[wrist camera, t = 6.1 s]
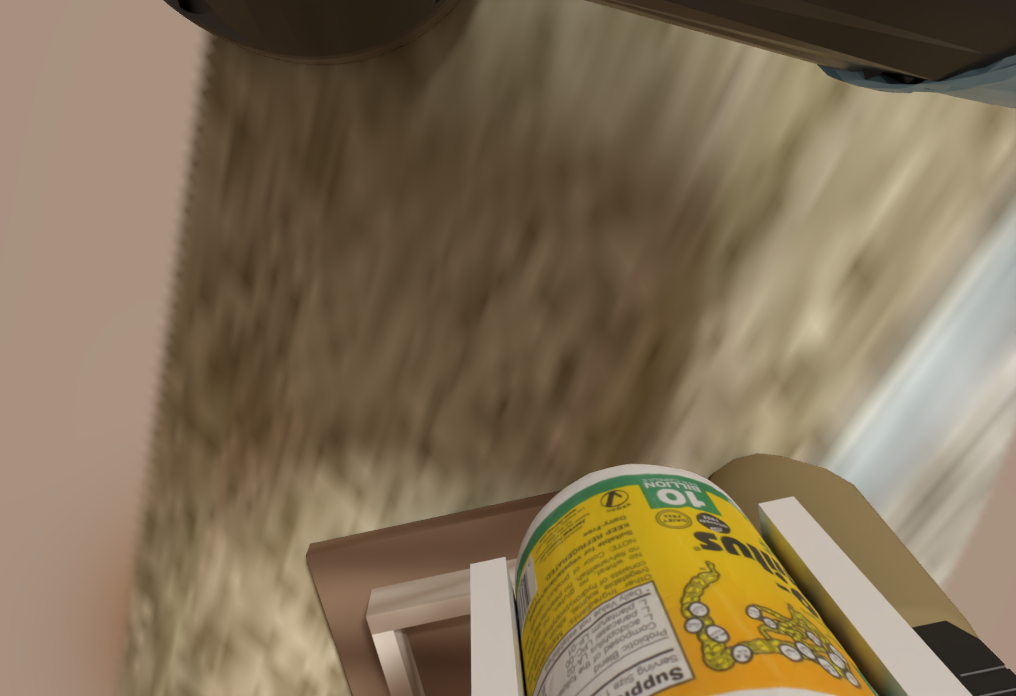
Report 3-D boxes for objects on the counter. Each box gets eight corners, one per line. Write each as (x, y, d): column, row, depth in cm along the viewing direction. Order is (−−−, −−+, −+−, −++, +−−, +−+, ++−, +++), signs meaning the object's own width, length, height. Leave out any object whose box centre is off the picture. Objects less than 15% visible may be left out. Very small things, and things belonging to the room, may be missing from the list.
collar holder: (310, 544, 34) (295, 582, 31) (594, 483, 33) (606, 516, 31) (383, 763, 38) (376, 815, 35) (636, 710, 38) (650, 757, 35)
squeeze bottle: (705, 599, 36) (925, 1027, 19) (647, 473, 34) (838, 828, 16) (852, 536, 35) (1221, 918, 18) (804, 403, 33) (1174, 694, 16)
